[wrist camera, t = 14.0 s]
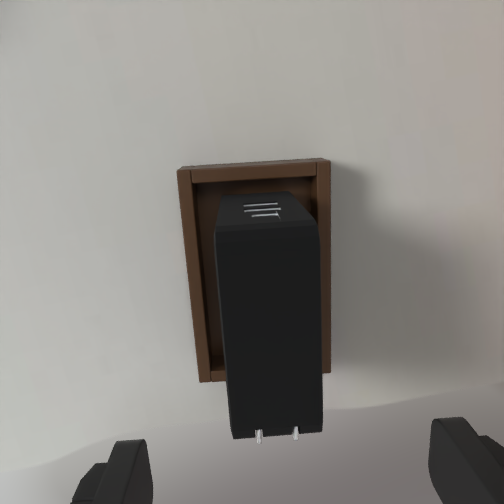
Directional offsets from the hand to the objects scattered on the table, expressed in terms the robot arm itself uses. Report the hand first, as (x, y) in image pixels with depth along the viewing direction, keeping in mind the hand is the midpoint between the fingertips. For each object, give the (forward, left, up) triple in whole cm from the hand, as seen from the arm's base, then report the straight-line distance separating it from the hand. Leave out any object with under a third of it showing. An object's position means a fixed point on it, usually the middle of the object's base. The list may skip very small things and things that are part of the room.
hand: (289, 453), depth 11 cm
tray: (0, 0, -16) cm, 16 cm away
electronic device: (0, 0, -16) cm, 16 cm away
